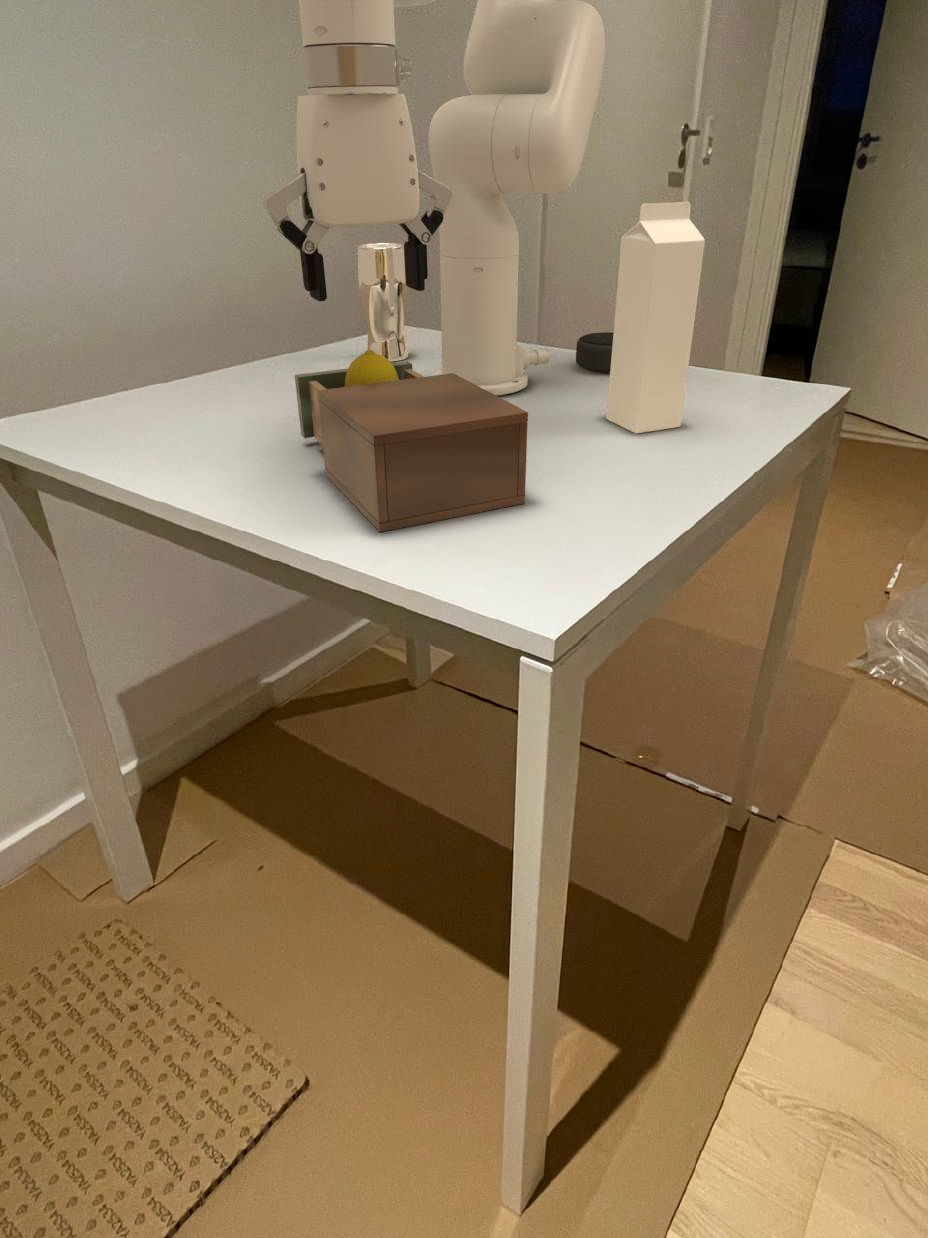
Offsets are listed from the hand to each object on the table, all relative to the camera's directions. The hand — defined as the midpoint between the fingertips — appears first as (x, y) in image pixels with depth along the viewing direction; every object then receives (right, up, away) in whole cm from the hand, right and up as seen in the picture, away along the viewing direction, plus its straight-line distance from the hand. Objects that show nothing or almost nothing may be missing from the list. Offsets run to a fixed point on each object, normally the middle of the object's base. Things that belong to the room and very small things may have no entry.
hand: (368, 293), depth 76 cm
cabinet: (+5, -19, -2) cm, 20 cm away
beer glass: (-2, +8, +43) cm, 43 cm away
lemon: (0, -12, +7) cm, 13 cm away
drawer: (-1, -11, +9) cm, 14 cm away
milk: (+29, -9, +15) cm, 34 cm away
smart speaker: (+29, +4, +37) cm, 47 cm away
